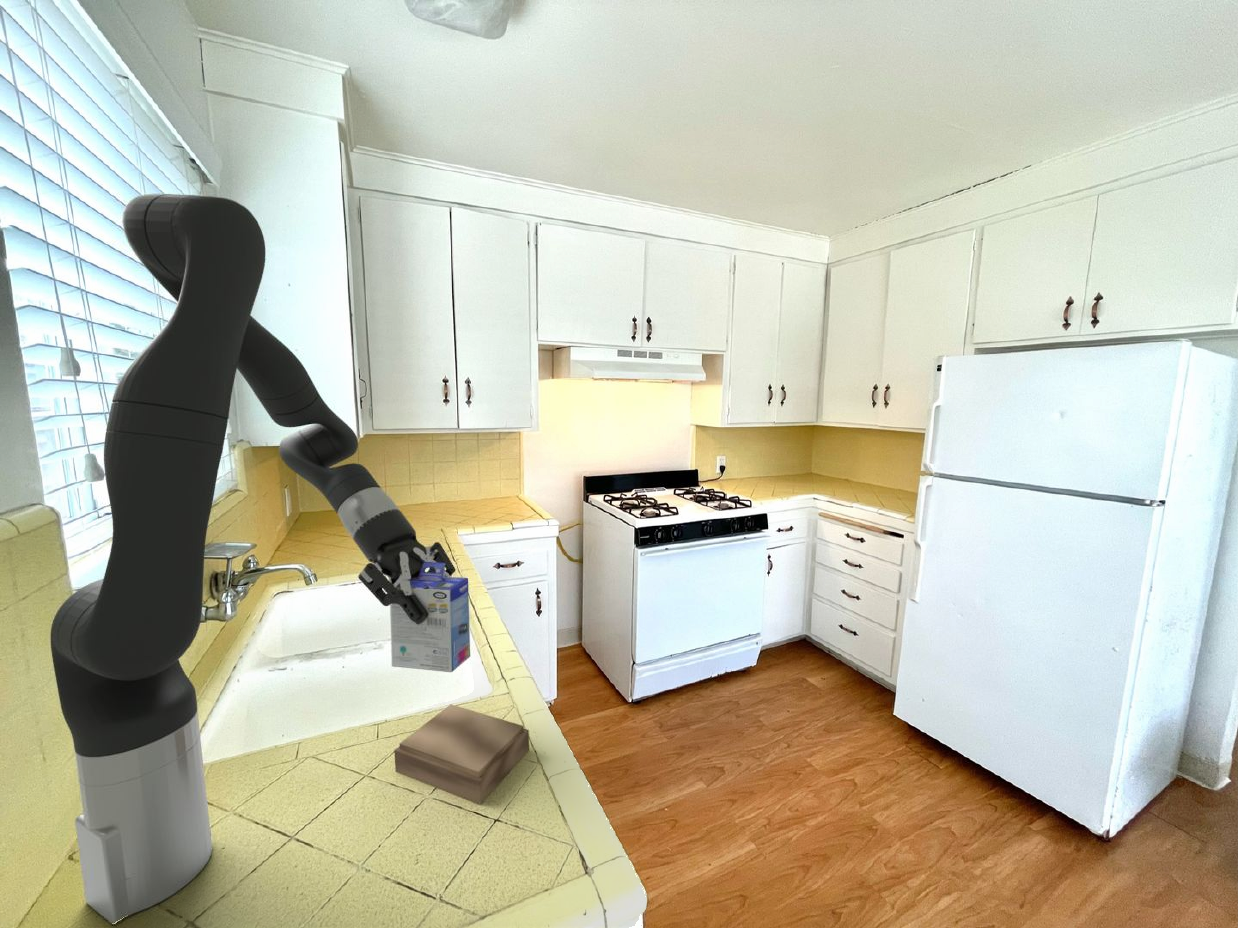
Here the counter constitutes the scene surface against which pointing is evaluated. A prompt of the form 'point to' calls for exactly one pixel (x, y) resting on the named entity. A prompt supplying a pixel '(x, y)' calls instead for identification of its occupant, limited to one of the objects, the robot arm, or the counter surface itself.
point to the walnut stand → (462, 752)
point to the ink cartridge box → (433, 624)
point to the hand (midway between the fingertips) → (440, 611)
